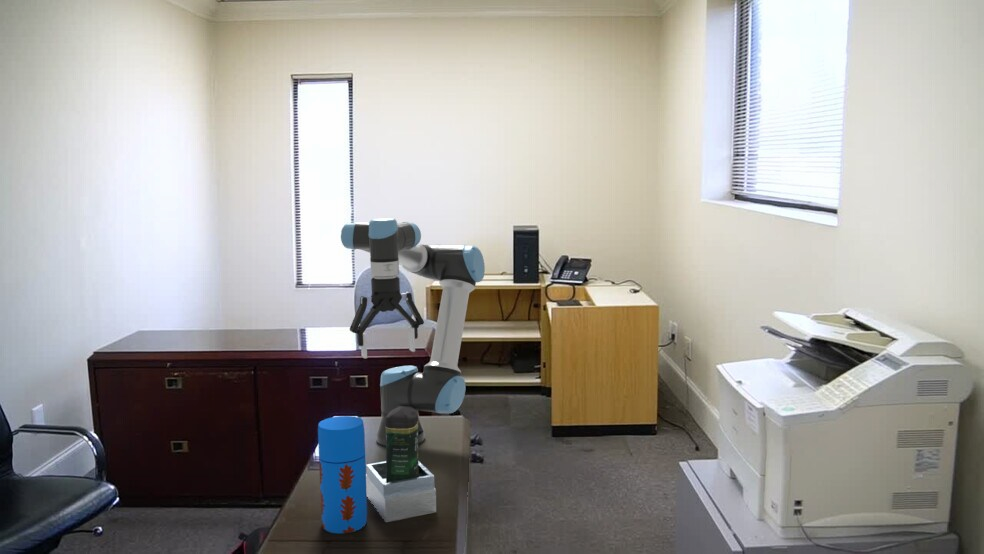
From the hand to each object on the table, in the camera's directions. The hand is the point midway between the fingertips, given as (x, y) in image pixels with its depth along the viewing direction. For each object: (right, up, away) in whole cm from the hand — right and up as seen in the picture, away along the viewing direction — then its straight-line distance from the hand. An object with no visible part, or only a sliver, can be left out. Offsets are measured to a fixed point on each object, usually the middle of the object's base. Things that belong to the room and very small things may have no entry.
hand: (388, 354), depth 207 cm
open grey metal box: (+5, -37, -13) cm, 39 cm away
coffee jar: (+6, -31, -13) cm, 34 cm away
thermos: (-7, -39, -24) cm, 46 cm away
